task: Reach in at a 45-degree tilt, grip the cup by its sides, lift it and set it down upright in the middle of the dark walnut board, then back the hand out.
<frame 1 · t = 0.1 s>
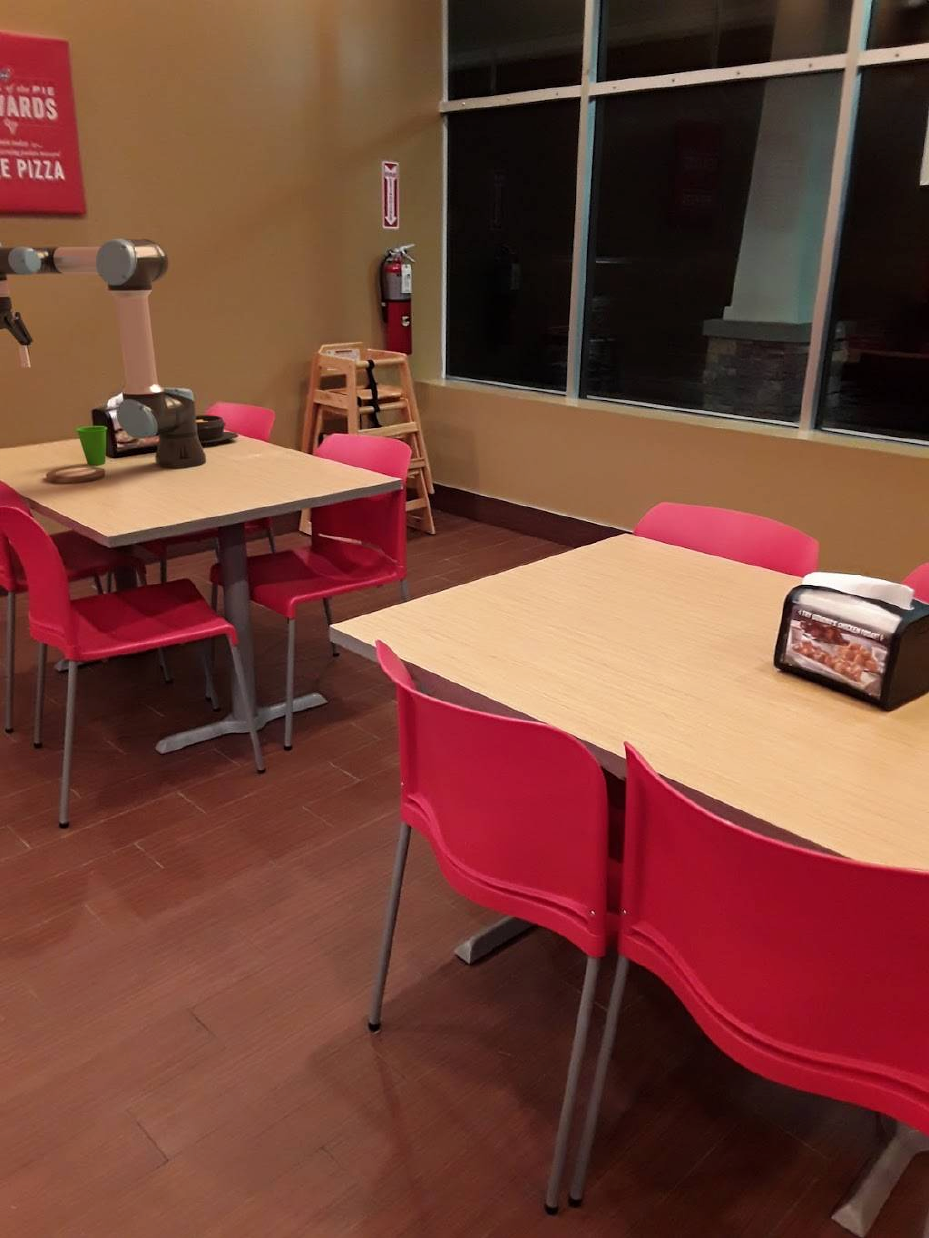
hand: (9, 369, 286), 28 cm above the table, tool pointing down, fingers open, 13 cm apart
cup: (96, 464, 292), on the table
walnut board: (76, 477, 274), on the table
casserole: (202, 443, 323), on the table
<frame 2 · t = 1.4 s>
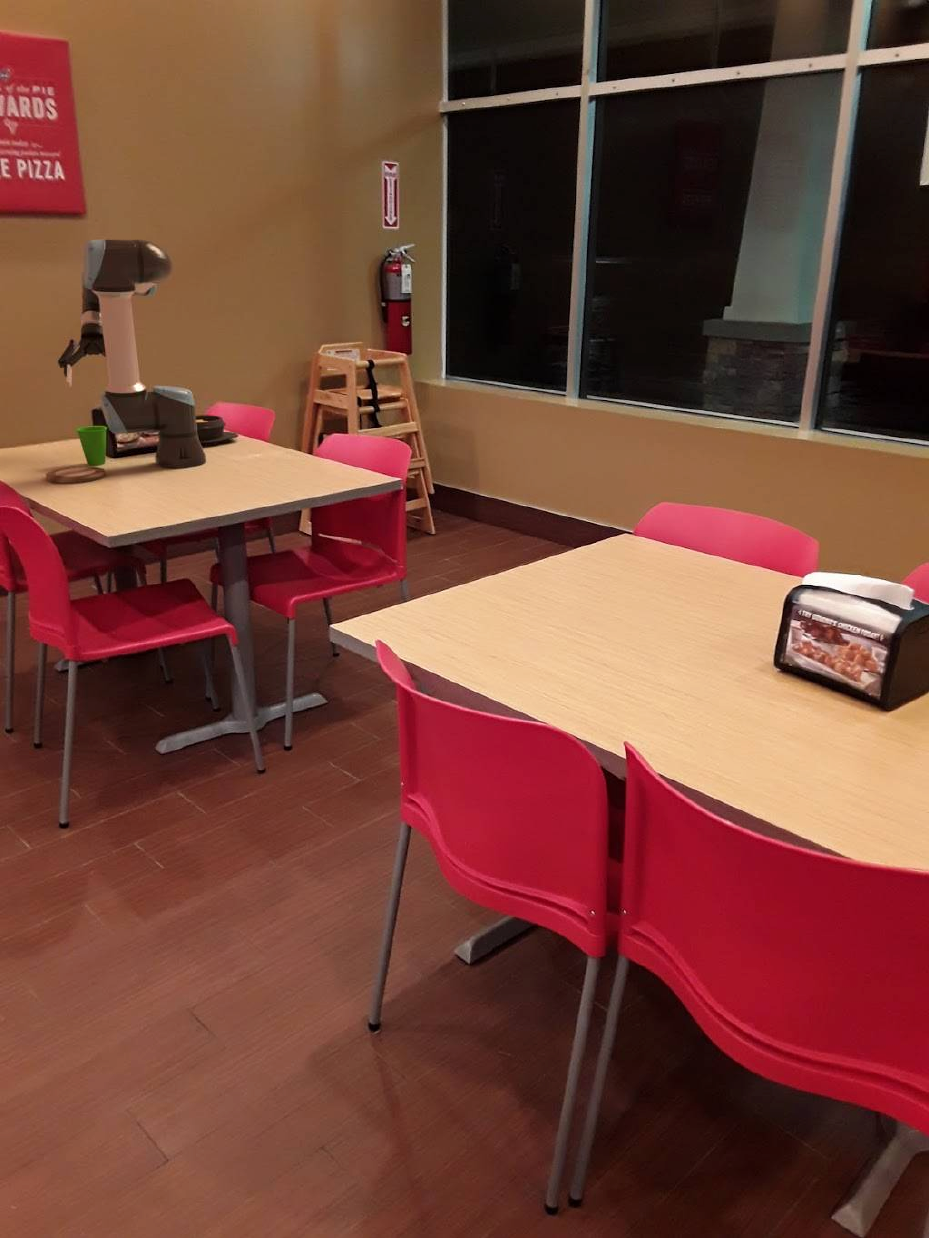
hand: (91, 384, 293), 23 cm above the table, tool tilted 45°, fingers open, 13 cm apart
nothing on the table moved.
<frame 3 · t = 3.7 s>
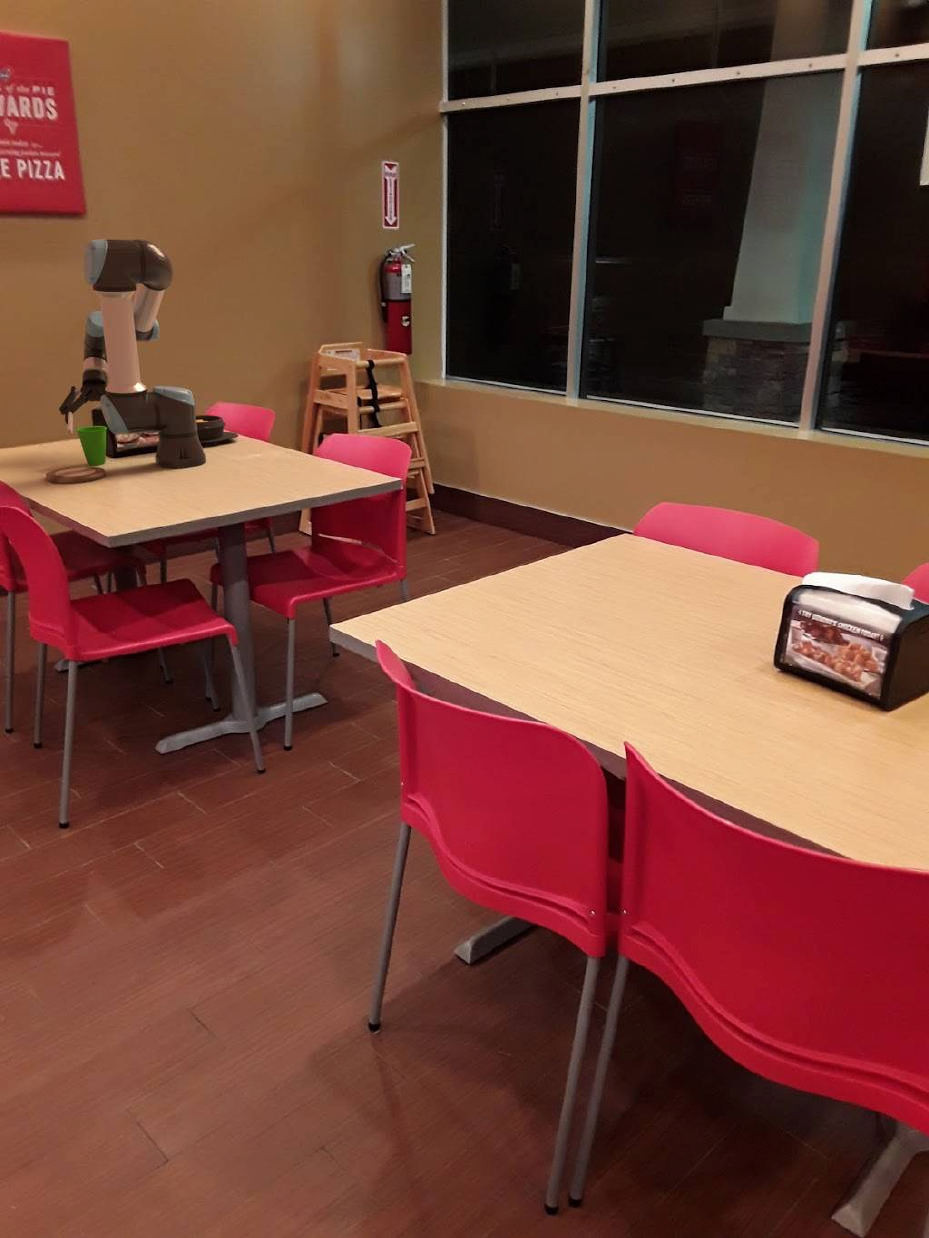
hand: (93, 431, 292), 9 cm above the table, tool tilted 45°, fingers open, 13 cm apart
nothing on the table moved.
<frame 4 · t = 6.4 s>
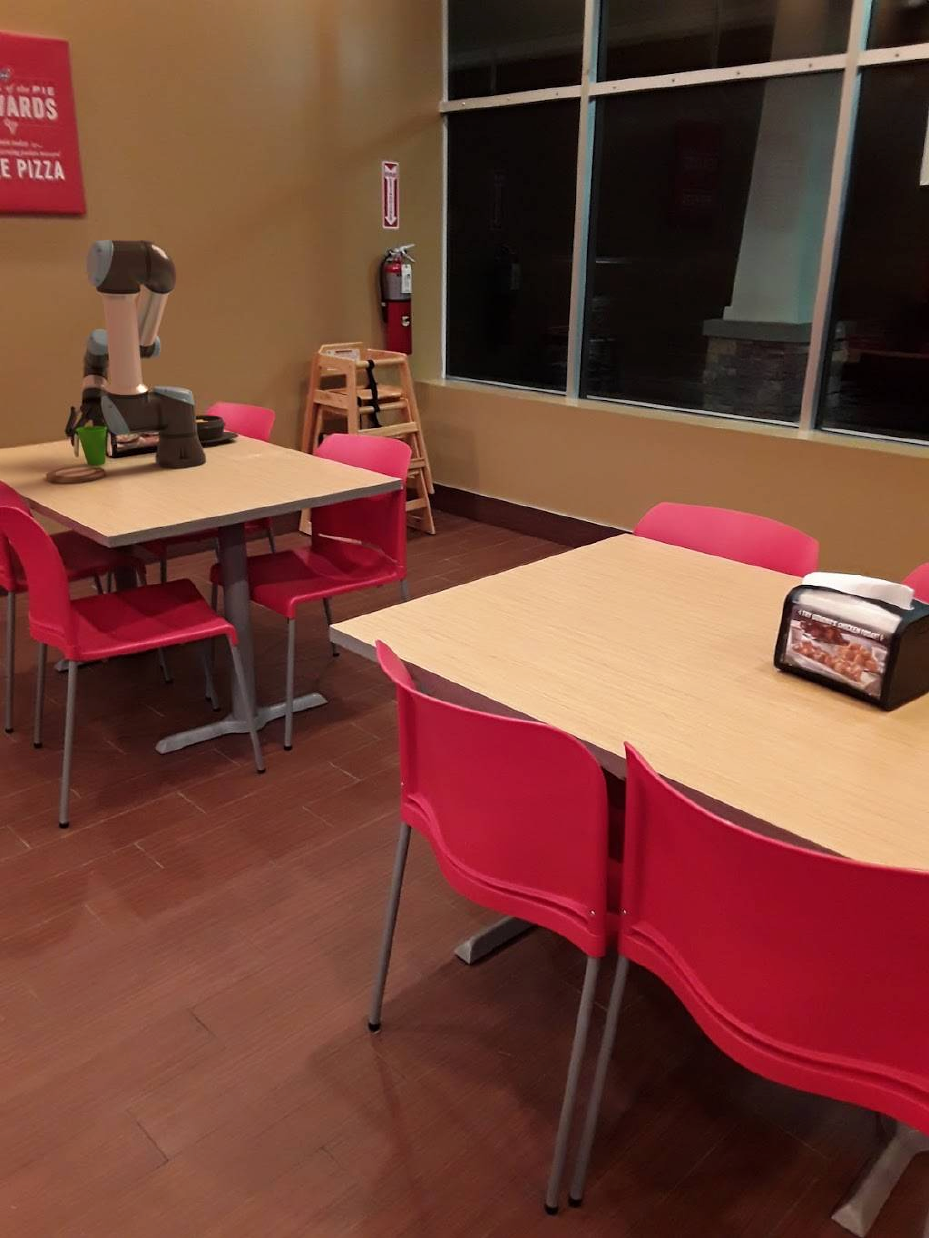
hand: (92, 453, 287), 4 cm above the table, tool tilted 45°, fingers closed on cup, 9 cm apart
cup: (96, 464, 292), on the table, touching gripper
everything else where it was.
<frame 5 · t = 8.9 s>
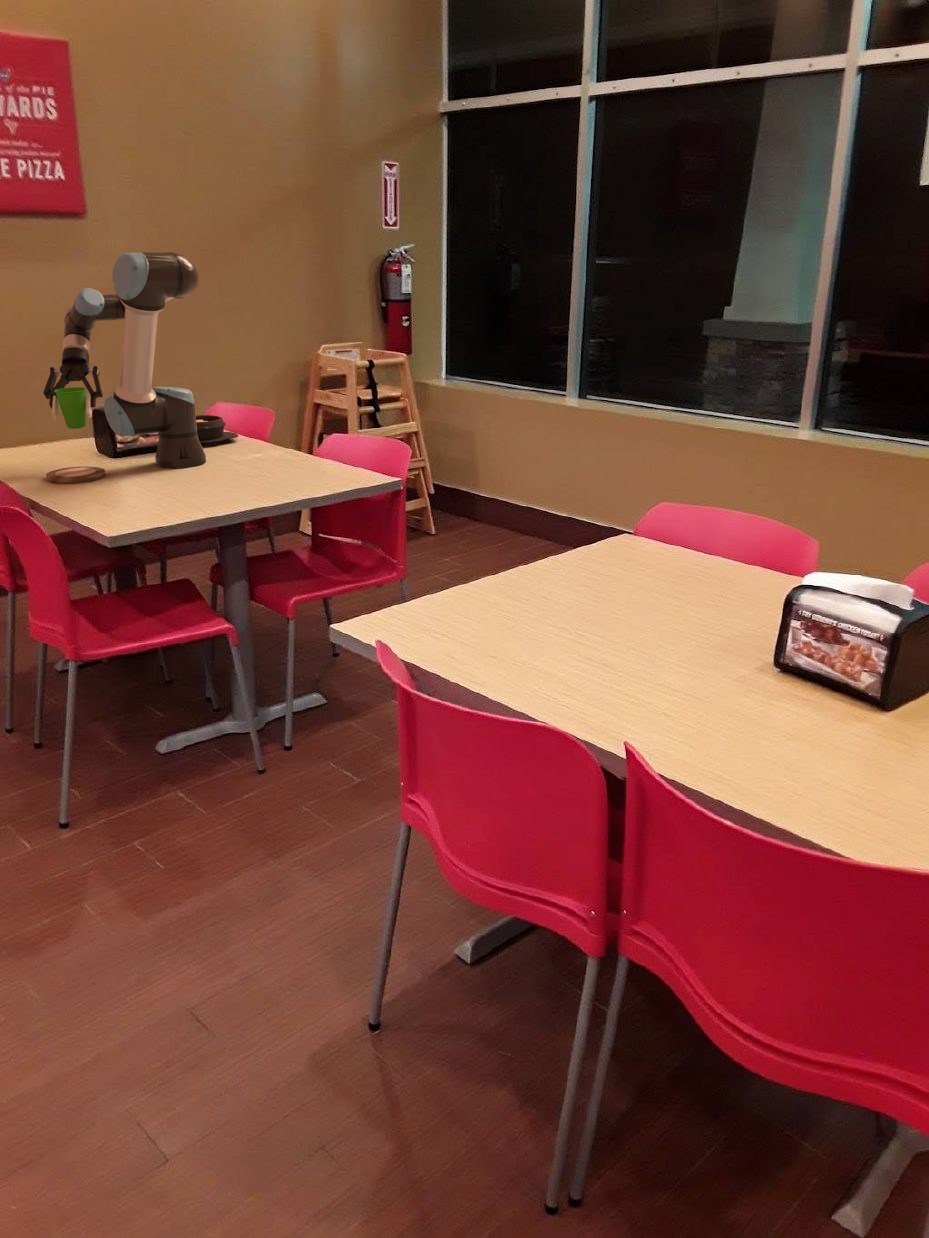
hand: (71, 416, 276), 16 cm above the table, tool tilted 45°, fingers closed on cup, 9 cm apart
cup: (76, 427, 280), point 12 cm above the table, touching gripper
everything else where it was.
when the fingers open (7 cm above the table, at t = 11.9 s): cup drops 1 cm, resting on walnut board.
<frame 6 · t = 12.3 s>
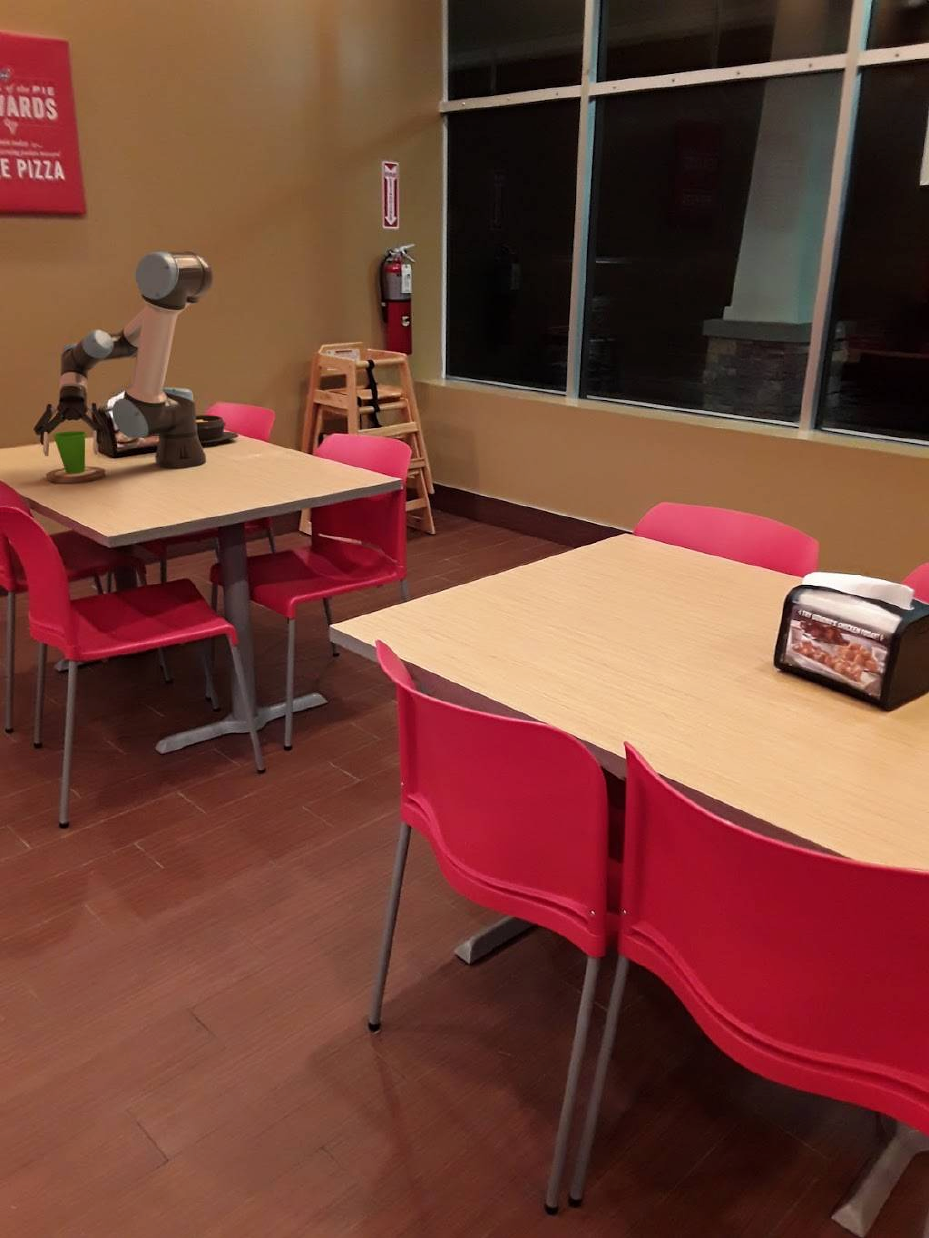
hand: (70, 453, 269), 8 cm above the table, tool tilted 45°, fingers open, 13 cm apart
cup: (75, 472, 274), point 1 cm above the table, touching walnut board
everything else where it was.
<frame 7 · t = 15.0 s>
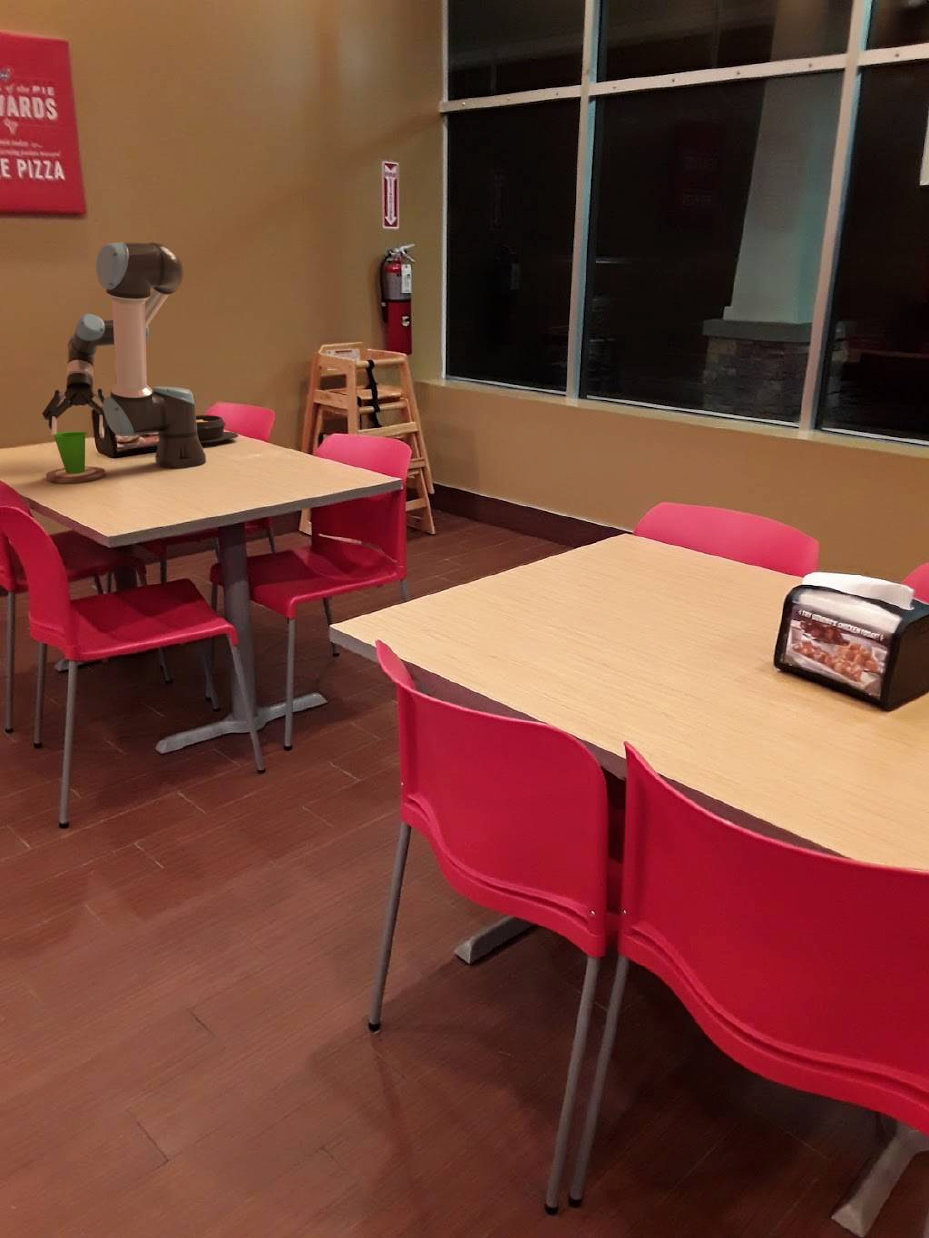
hand: (77, 436, 282), 10 cm above the table, tool tilted 45°, fingers open, 13 cm apart
nothing on the table moved.
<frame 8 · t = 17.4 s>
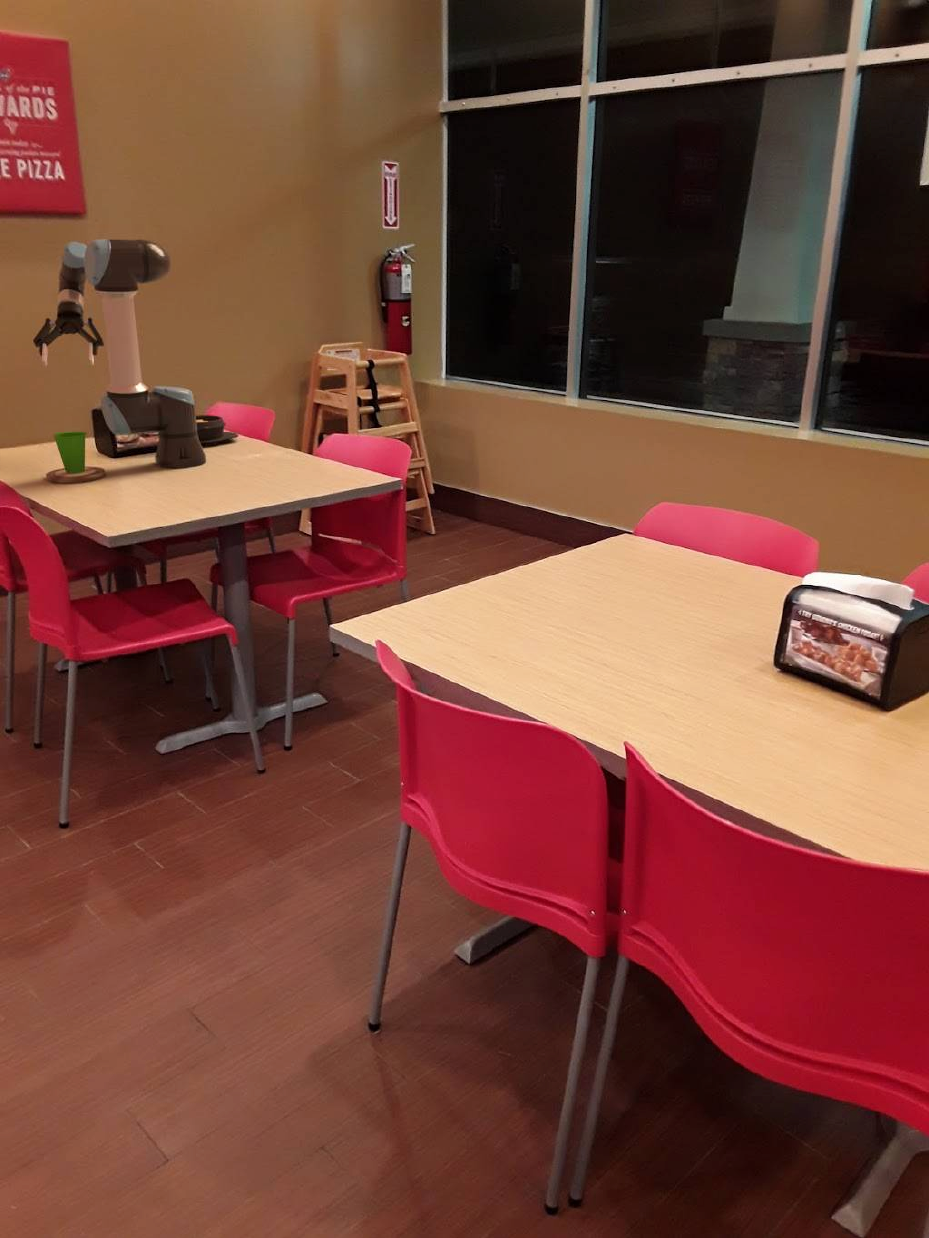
hand: (67, 363, 287), 30 cm above the table, tool tilted 45°, fingers open, 13 cm apart
nothing on the table moved.
at the end: cup inside the target area on the walnut board (0.1 cm from its centre), point 1.4 cm above the walnut board's base; cup tilted 0°; the gripper is holding nothing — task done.
